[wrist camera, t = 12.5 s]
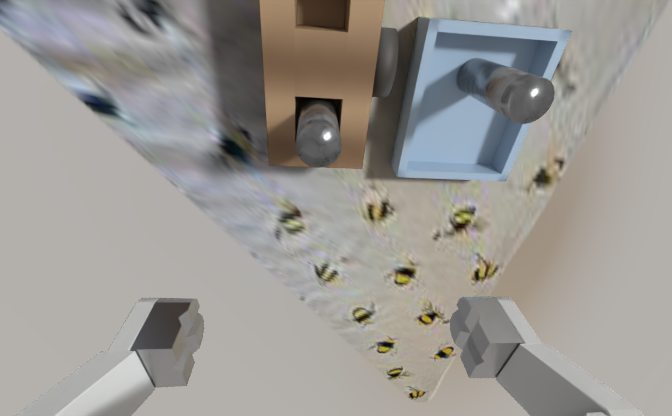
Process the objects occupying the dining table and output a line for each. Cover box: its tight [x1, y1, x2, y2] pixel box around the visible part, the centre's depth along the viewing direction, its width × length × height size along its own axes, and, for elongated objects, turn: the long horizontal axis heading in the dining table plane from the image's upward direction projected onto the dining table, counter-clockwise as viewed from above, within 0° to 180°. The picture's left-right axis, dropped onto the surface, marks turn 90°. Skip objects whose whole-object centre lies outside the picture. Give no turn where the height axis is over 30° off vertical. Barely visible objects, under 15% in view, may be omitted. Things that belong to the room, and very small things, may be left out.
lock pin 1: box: [296, 97, 342, 167], centre depth 23 cm, size 3×3×9 cm
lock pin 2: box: [456, 58, 555, 124], centre depth 24 cm, size 3×3×9 cm
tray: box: [391, 17, 572, 181], centre depth 29 cm, size 14×12×3 cm
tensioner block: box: [260, 0, 399, 169], centre depth 24 cm, size 16×10×6 cm, turn 176°
